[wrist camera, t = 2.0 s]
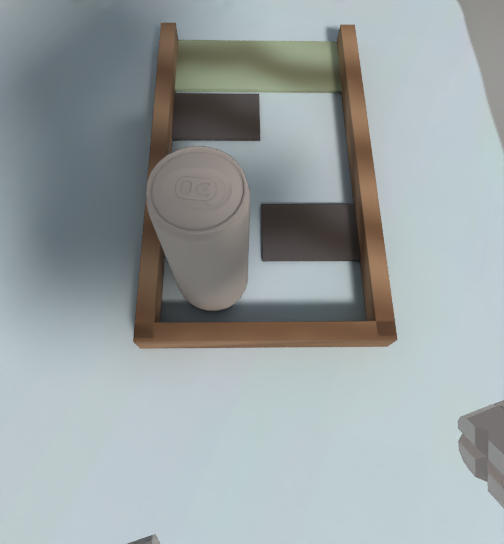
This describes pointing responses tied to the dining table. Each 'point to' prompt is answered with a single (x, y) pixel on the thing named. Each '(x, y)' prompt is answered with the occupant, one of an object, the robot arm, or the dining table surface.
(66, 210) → the dining table surface
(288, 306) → the dining table surface
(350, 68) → the box
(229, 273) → the beverage can
